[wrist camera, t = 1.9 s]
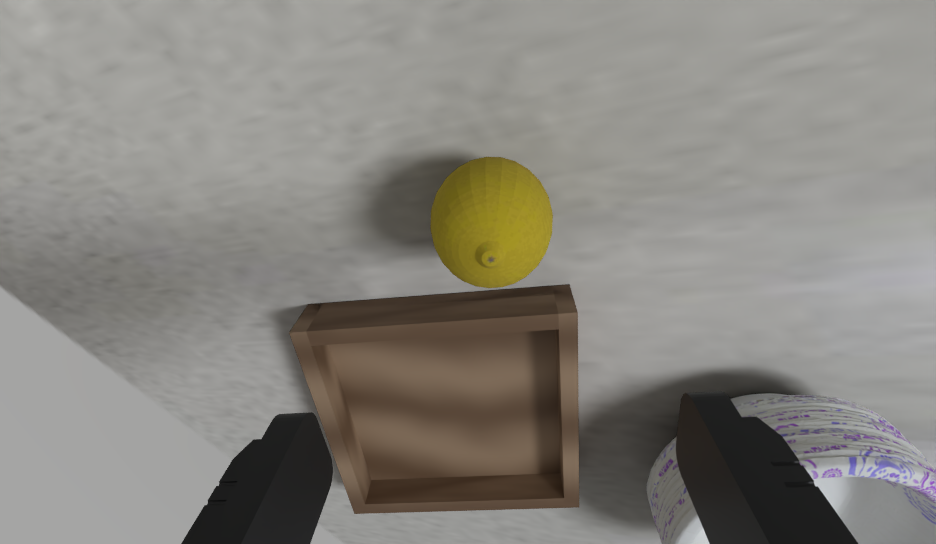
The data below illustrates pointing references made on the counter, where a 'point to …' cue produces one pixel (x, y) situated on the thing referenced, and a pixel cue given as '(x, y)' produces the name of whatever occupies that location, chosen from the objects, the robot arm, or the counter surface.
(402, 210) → the counter surface
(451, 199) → the lemon
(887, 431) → the paper bowls
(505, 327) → the walnut tray
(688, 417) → the robot arm
